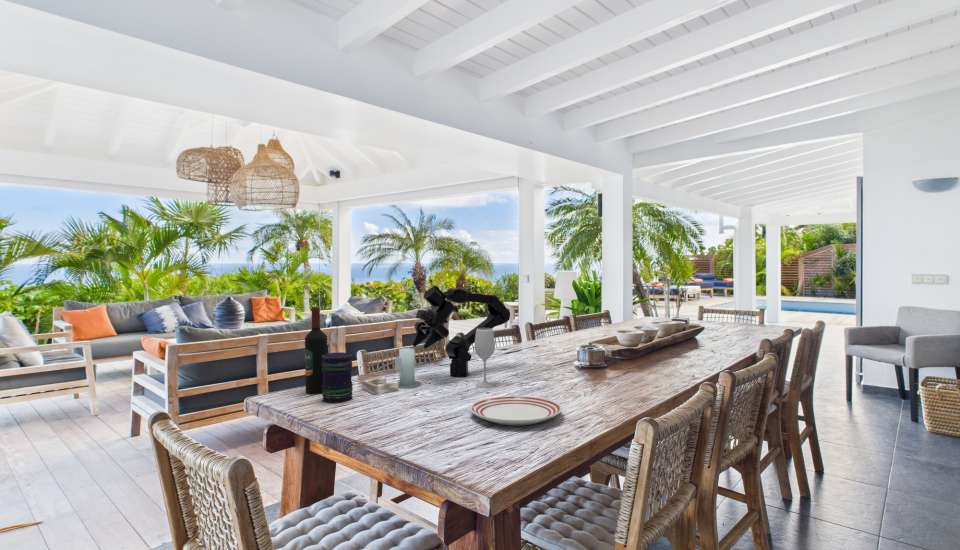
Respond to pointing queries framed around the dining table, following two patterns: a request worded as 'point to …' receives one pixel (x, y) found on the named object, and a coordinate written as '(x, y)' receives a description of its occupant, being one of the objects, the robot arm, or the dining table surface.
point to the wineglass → (484, 350)
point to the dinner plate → (515, 409)
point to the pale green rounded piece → (406, 366)
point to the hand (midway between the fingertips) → (418, 347)
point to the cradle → (379, 386)
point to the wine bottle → (314, 354)
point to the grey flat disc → (410, 385)
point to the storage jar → (337, 377)
